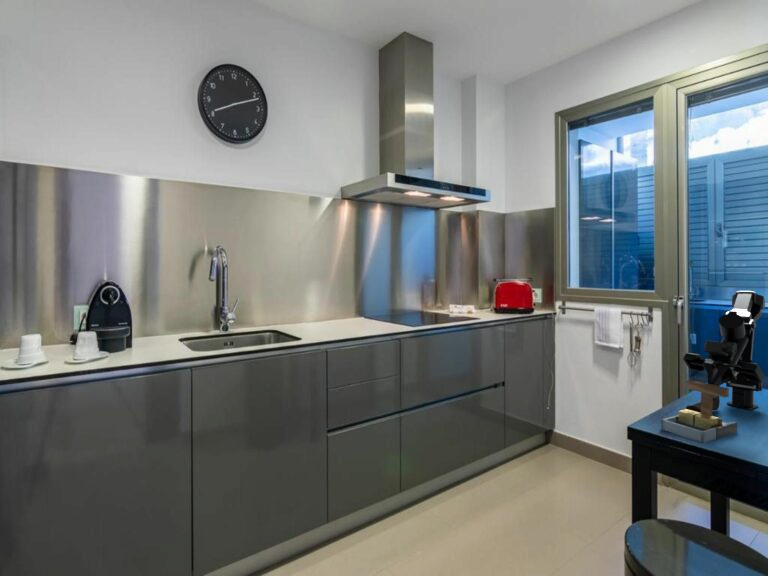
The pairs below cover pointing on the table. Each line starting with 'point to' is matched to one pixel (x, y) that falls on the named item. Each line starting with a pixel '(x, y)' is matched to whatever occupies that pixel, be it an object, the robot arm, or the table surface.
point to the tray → (687, 431)
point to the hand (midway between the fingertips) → (709, 388)
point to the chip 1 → (687, 416)
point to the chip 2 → (706, 421)
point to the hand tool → (697, 406)
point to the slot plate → (720, 430)
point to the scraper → (707, 395)
